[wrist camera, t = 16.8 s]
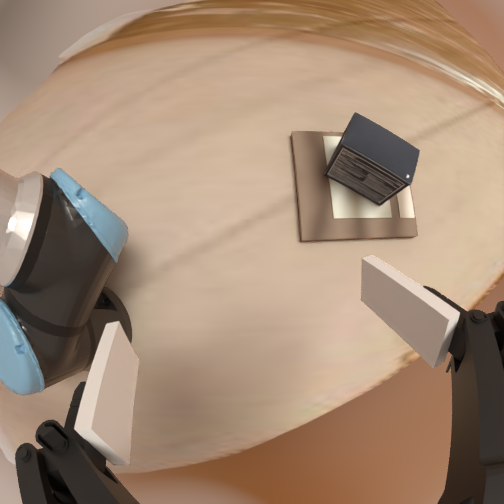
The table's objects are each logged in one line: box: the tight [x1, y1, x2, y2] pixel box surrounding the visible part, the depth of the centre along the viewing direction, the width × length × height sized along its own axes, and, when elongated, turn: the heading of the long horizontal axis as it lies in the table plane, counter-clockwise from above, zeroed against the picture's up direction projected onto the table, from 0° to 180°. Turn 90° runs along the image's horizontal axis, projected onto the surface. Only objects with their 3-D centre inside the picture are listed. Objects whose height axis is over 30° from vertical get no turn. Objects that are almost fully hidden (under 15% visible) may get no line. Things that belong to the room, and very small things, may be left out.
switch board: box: [291, 131, 418, 242], centre depth 41 cm, size 20×18×2 cm
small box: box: [324, 112, 420, 206], centre depth 35 cm, size 11×6×10 cm, turn 63°
